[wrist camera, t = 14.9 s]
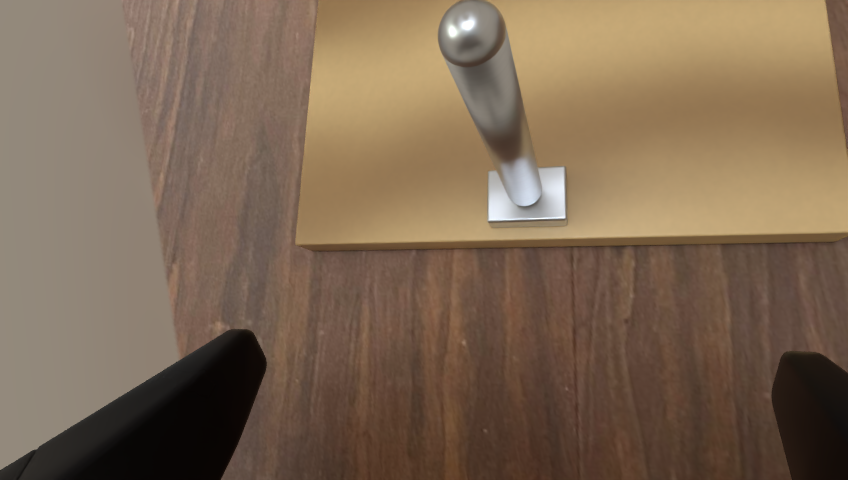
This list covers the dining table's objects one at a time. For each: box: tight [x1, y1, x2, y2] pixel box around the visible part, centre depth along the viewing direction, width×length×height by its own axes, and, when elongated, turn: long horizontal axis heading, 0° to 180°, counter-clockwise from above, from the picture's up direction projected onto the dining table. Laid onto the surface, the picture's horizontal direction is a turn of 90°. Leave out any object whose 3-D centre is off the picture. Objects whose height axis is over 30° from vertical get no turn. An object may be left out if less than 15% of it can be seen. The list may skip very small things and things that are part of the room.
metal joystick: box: [438, 0, 568, 228], centre depth 13 cm, size 3×2×11 cm
